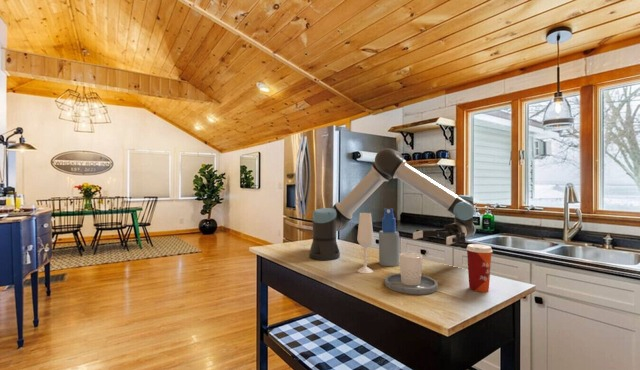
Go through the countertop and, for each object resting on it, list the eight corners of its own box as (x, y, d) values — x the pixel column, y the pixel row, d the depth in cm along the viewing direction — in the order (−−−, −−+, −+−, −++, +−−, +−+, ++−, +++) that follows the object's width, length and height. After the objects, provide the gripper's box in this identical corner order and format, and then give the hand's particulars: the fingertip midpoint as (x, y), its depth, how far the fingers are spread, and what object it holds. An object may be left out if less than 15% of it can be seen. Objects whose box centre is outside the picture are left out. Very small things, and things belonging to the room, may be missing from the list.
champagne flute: (361, 267, 136) (362, 212, 136) (376, 270, 132) (376, 213, 132) (354, 271, 131) (354, 213, 131) (368, 274, 127) (369, 214, 127)
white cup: (423, 287, 109) (423, 258, 109) (399, 285, 110) (400, 257, 110) (421, 280, 116) (421, 253, 116) (399, 278, 118) (399, 252, 118)
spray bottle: (398, 266, 137) (397, 209, 137) (377, 265, 140) (377, 208, 140) (400, 262, 146) (399, 207, 146) (380, 260, 149) (380, 207, 149)
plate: (377, 279, 120) (377, 275, 120) (419, 276, 124) (419, 271, 124) (400, 296, 102) (400, 291, 102) (448, 292, 107) (448, 286, 107)
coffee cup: (490, 295, 104) (490, 249, 104) (463, 290, 109) (463, 246, 109) (494, 288, 111) (494, 245, 110) (468, 283, 116) (469, 242, 115)
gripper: (484, 245, 127) (462, 254, 112) (426, 236, 145) (401, 242, 131) (485, 227, 127) (463, 232, 112) (427, 220, 145) (401, 224, 130)
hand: (429, 238), depth 121 cm, fingers open, 13 cm apart
